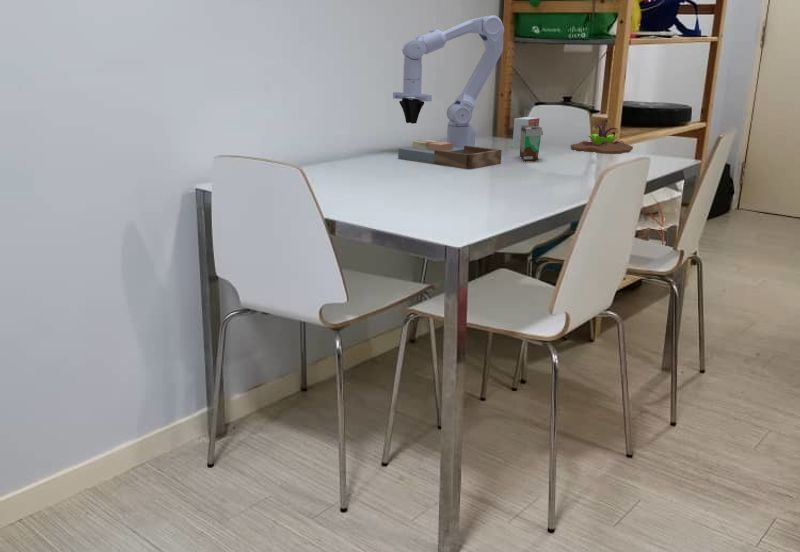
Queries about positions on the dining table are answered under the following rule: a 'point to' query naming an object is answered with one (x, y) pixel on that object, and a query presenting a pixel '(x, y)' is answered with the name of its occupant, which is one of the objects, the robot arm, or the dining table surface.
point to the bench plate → (421, 154)
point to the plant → (603, 143)
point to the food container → (530, 142)
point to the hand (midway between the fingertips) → (411, 123)
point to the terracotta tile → (440, 146)
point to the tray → (468, 157)
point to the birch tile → (422, 144)
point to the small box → (517, 128)
